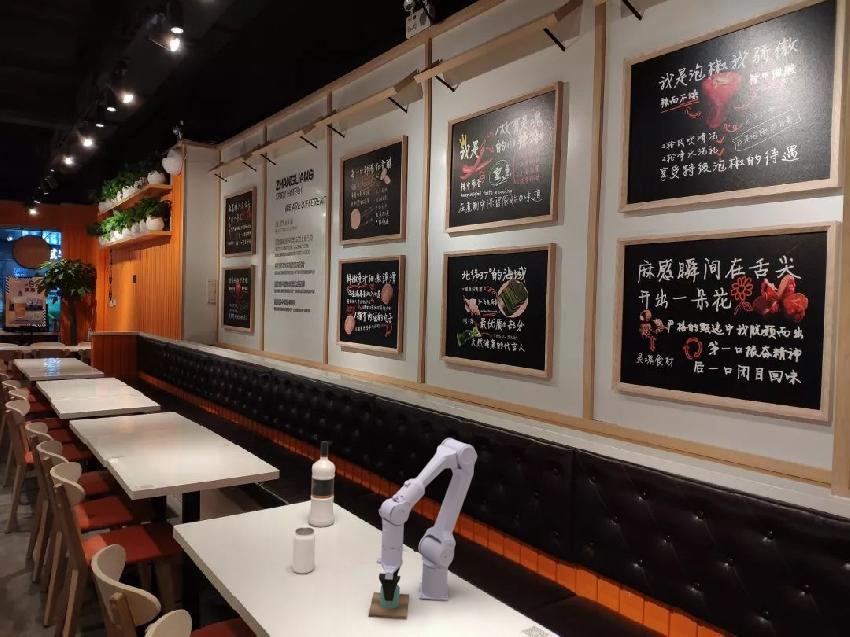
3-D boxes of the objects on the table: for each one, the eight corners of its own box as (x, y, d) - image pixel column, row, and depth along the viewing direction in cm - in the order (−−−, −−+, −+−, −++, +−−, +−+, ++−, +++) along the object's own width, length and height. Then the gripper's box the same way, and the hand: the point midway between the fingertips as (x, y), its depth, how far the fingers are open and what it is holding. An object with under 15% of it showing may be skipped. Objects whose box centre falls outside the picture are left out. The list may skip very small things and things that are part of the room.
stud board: (373, 594, 177) (374, 582, 177) (408, 597, 177) (409, 584, 177) (368, 616, 165) (369, 603, 165) (406, 619, 165) (406, 606, 165)
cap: (380, 598, 174) (381, 582, 174) (399, 599, 174) (400, 583, 174) (378, 608, 169) (379, 591, 169) (398, 609, 169) (398, 592, 168)
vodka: (327, 529, 223) (330, 445, 222) (303, 525, 226) (307, 442, 225) (338, 520, 232) (341, 440, 231) (315, 516, 235) (318, 437, 233)
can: (315, 565, 194) (316, 527, 194) (312, 574, 188) (313, 535, 187) (294, 564, 194) (295, 526, 194) (290, 573, 188) (292, 534, 187)
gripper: (380, 533, 178) (378, 580, 178) (374, 554, 163) (372, 605, 164) (405, 534, 178) (402, 581, 178) (401, 556, 163) (399, 607, 164)
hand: (390, 593), depth 171 cm, fingers open, 7 cm apart
